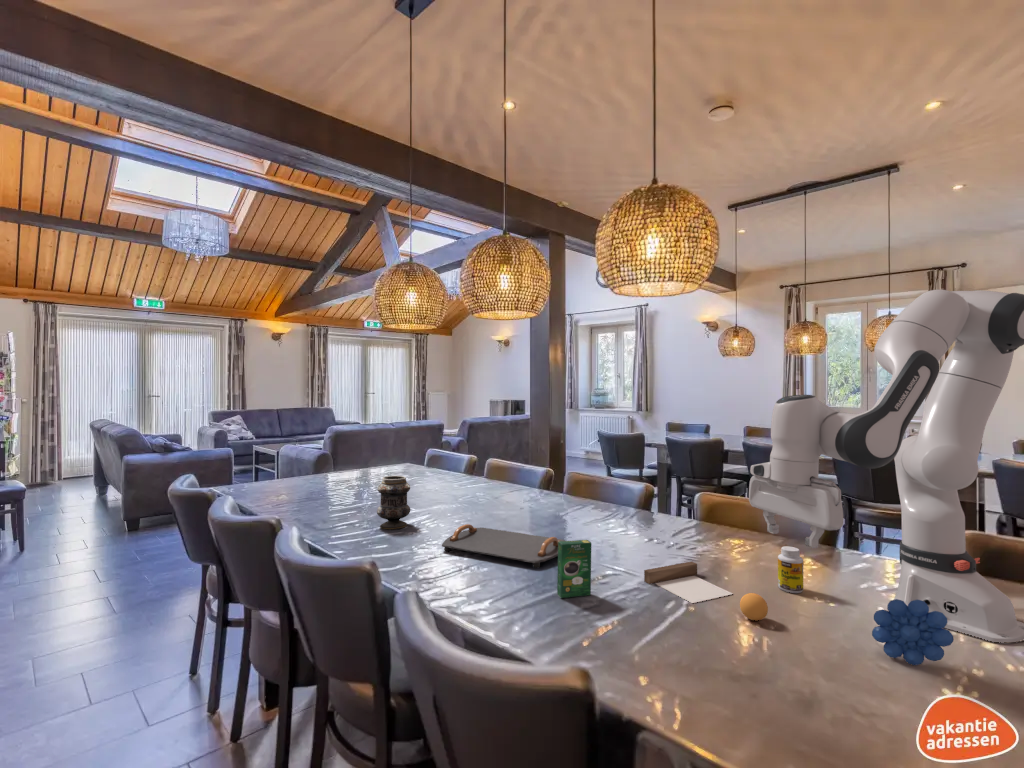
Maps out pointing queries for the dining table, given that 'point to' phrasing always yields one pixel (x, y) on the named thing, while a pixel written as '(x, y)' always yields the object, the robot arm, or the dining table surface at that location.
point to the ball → (753, 606)
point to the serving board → (503, 544)
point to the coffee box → (574, 568)
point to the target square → (693, 589)
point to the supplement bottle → (790, 570)
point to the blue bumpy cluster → (912, 631)
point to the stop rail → (670, 572)
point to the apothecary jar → (393, 501)
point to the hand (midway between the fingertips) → (791, 539)
